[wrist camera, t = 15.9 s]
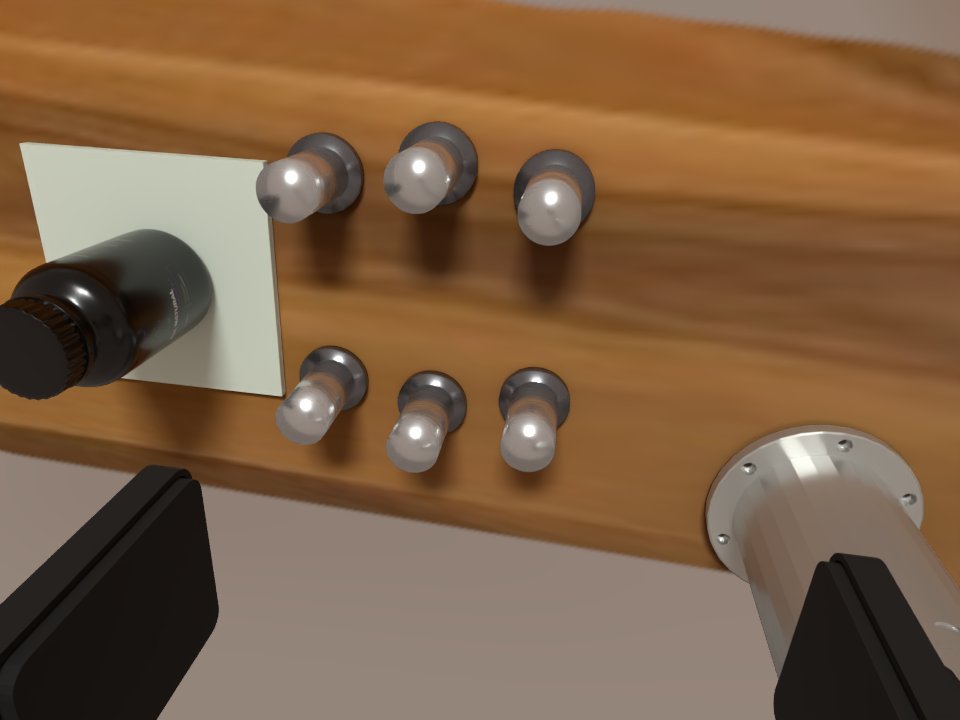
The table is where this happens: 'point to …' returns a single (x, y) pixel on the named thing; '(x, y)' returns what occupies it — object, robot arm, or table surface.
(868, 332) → the table surface
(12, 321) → the supplement bottle
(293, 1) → the table surface
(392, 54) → the table surface
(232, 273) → the sage pad
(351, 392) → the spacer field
